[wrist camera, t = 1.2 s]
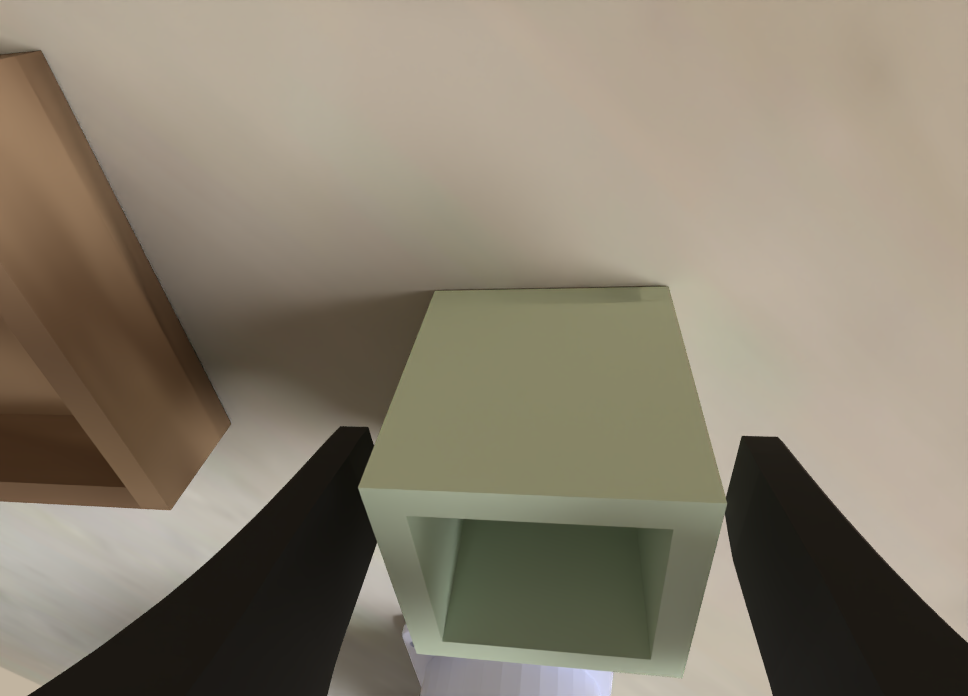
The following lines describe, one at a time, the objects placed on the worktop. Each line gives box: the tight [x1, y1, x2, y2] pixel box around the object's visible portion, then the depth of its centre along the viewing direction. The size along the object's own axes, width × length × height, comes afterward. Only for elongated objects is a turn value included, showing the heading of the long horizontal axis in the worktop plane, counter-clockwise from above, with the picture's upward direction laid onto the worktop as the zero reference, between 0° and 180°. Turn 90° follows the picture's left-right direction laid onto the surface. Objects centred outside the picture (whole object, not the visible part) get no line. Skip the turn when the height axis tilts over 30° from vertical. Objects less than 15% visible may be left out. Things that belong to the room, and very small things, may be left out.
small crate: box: [358, 287, 727, 678], centre depth 11 cm, size 5×5×6 cm
